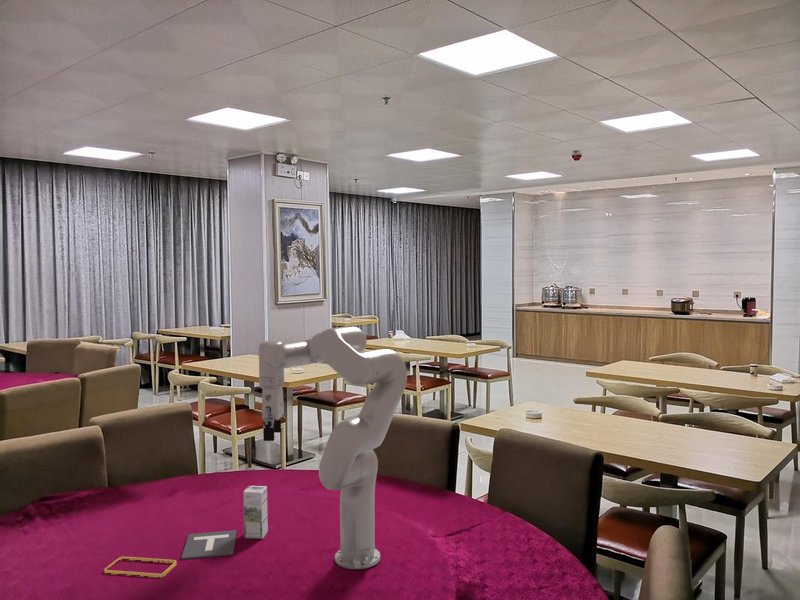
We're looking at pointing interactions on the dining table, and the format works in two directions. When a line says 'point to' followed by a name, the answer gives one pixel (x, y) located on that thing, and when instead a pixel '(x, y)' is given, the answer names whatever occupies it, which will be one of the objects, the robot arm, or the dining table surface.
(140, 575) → the phone case
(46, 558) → the dining table surface
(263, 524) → the syrup box
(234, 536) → the letter mat
